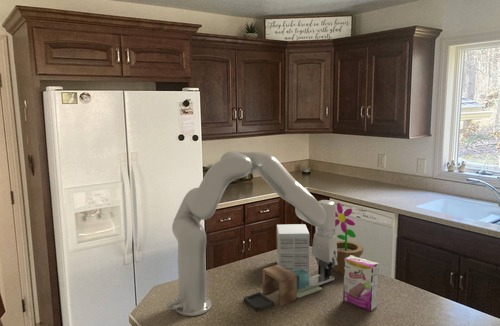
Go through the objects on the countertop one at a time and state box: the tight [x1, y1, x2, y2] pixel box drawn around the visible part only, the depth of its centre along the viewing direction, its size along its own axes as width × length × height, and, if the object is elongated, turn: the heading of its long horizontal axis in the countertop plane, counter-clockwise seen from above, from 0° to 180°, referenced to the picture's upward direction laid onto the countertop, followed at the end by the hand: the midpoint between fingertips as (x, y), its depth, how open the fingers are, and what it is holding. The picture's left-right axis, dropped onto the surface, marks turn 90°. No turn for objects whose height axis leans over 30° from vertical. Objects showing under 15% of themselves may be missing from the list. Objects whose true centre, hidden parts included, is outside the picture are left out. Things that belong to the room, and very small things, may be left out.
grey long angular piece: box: [292, 260, 335, 292], centre depth 157 cm, size 19×6×8 cm, turn 123°
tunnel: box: [262, 264, 298, 306], centre depth 149 cm, size 7×11×10 cm, turn 33°
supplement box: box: [276, 223, 310, 274], centre depth 174 cm, size 13×13×18 cm
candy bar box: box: [342, 255, 380, 312], centre depth 142 cm, size 11×5×16 cm, turn 47°
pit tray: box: [243, 291, 275, 312], centre depth 144 cm, size 7×9×2 cm
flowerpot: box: [332, 202, 364, 275], centre depth 170 cm, size 14×14×30 cm
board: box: [297, 285, 323, 299], centre depth 155 cm, size 12×10×1 cm
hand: (324, 275), depth 161 cm, fingers closed on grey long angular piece, 2 cm apart
